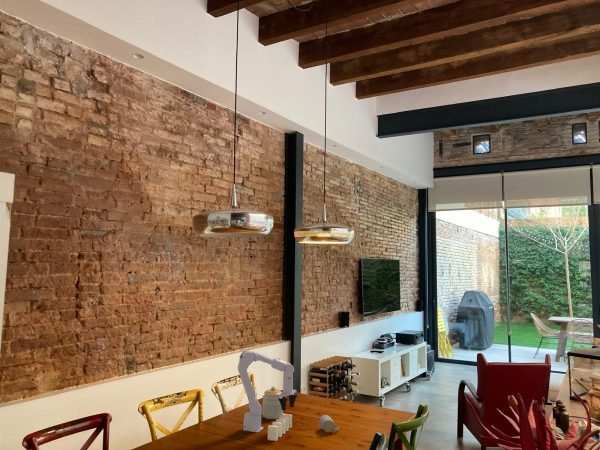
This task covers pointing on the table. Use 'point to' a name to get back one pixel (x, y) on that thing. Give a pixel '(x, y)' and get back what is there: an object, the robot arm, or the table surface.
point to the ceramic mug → (327, 424)
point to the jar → (272, 404)
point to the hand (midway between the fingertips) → (287, 408)
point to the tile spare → (273, 432)
